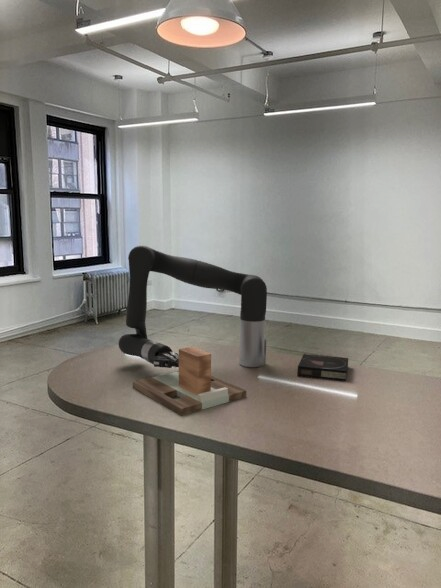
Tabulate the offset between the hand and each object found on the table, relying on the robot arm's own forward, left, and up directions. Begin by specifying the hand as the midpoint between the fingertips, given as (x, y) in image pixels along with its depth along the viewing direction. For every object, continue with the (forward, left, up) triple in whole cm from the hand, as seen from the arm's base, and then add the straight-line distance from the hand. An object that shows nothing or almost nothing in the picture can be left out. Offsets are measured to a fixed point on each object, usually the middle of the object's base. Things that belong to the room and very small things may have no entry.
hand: (185, 366), depth 154 cm
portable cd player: (-51, +14, -9) cm, 54 cm away
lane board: (0, +2, -8) cm, 8 cm away
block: (0, +5, -6) cm, 8 cm away
